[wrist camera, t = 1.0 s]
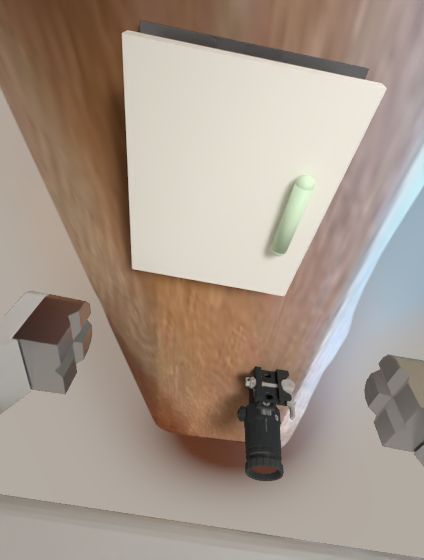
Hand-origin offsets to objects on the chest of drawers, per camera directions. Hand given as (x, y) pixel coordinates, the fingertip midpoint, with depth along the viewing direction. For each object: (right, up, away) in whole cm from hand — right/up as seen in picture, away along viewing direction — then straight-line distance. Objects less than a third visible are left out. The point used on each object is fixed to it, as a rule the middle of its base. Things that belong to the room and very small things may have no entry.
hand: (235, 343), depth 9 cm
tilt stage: (+1, +9, +21) cm, 23 cm away
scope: (+8, -17, +47) cm, 51 cm away
